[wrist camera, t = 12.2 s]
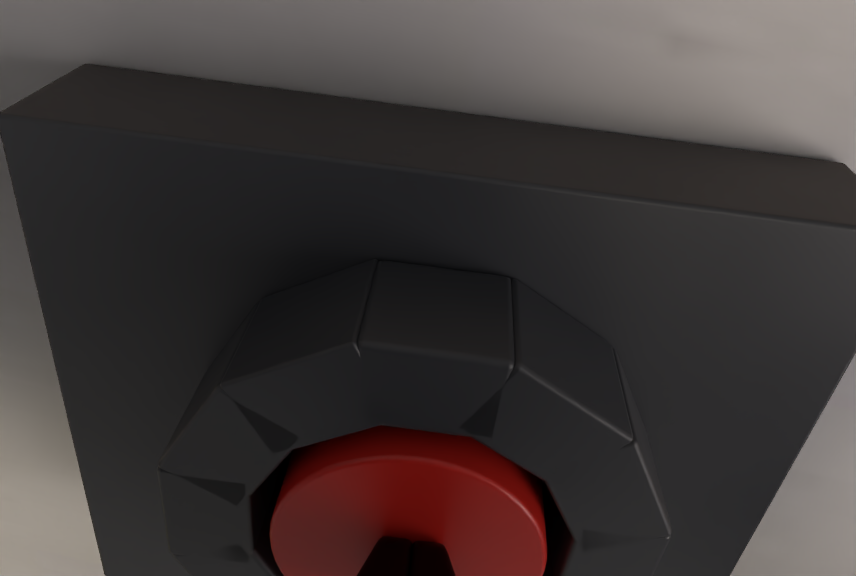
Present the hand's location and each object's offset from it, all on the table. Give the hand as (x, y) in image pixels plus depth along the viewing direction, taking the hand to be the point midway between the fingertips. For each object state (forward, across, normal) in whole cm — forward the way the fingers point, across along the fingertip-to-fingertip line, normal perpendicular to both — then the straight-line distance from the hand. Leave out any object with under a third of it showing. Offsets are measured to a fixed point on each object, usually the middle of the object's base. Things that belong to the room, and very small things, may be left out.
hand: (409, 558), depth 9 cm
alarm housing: (+4, 0, 0) cm, 4 cm away
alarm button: (+2, 0, 0) cm, 2 cm away
